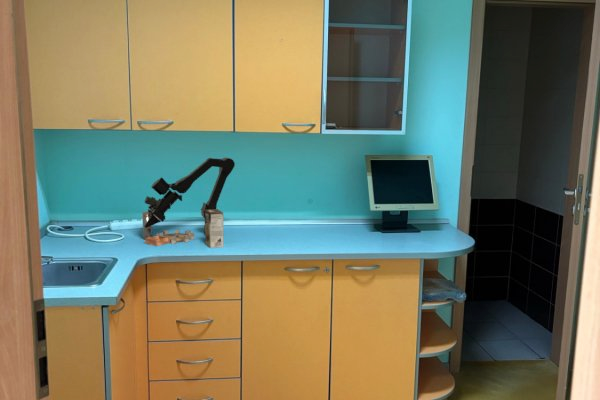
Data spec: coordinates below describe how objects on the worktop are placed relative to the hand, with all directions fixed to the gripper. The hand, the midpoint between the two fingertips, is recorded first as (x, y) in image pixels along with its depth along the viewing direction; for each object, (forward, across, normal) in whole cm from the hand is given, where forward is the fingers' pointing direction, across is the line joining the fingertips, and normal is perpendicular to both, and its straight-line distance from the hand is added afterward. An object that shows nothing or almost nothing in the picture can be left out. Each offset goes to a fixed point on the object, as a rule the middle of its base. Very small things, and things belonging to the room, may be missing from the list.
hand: (144, 225), depth 278 cm
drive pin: (+4, 0, +6) cm, 7 cm away
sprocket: (-3, +6, +13) cm, 14 cm away
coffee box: (-15, +23, +25) cm, 37 cm away
